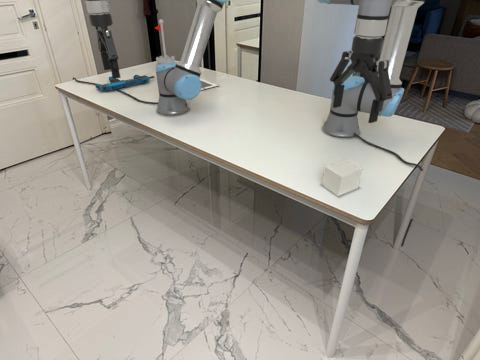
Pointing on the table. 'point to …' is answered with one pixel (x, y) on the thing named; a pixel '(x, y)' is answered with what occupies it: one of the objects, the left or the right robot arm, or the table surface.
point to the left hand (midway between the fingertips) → (112, 73)
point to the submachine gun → (122, 82)
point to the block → (341, 177)
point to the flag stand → (166, 58)
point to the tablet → (207, 84)
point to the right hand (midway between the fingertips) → (353, 114)
